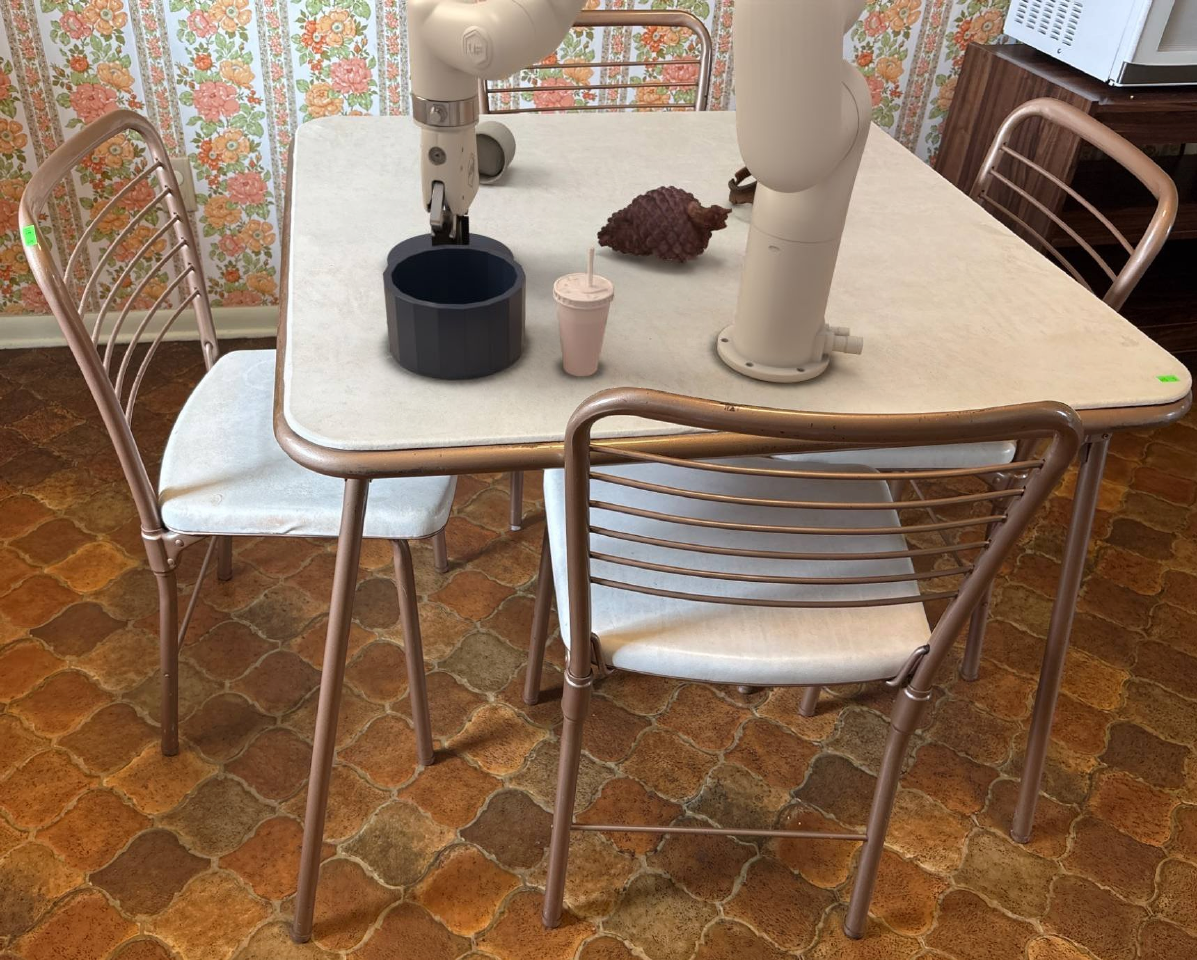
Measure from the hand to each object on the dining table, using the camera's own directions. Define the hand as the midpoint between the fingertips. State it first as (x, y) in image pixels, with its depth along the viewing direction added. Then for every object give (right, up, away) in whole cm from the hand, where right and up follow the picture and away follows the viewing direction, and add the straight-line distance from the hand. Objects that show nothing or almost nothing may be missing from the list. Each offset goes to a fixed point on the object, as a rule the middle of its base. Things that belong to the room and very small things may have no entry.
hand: (451, 254), depth 124 cm
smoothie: (+16, -16, -16) cm, 28 cm away
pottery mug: (+43, +11, +21) cm, 49 cm away
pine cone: (+27, +1, +7) cm, 28 cm away
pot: (+3, -13, -14) cm, 20 cm away
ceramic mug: (0, +18, +26) cm, 31 cm away
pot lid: (0, -1, +1) cm, 1 cm away
